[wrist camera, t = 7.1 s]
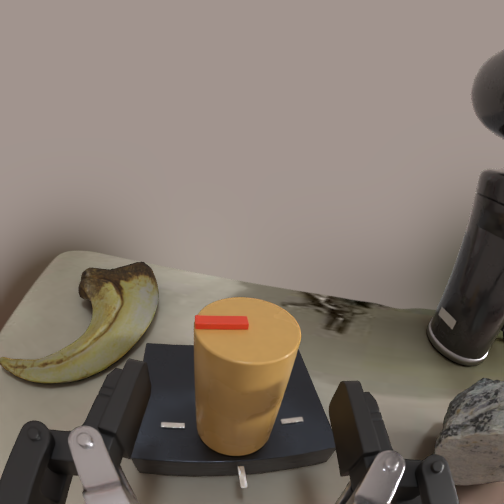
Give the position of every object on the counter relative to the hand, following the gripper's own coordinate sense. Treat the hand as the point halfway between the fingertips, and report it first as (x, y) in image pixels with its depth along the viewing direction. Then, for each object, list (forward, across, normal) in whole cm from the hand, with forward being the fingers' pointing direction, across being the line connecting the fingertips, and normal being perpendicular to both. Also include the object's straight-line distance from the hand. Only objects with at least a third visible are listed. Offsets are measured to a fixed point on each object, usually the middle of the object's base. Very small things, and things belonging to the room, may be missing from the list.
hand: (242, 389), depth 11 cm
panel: (+4, 0, +8) cm, 9 cm away
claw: (+11, +14, +9) cm, 20 cm away
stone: (-3, -17, +9) cm, 19 cm away
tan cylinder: (+2, 0, +6) cm, 6 cm away
